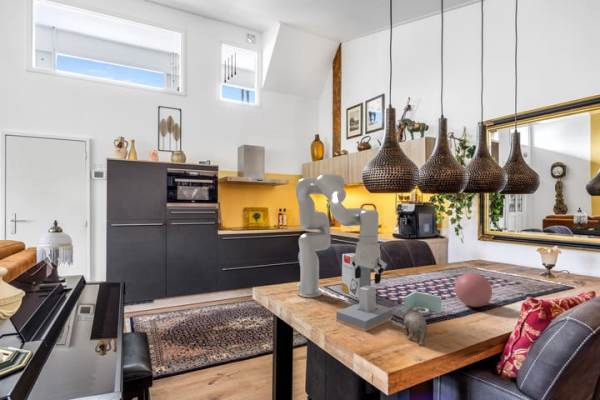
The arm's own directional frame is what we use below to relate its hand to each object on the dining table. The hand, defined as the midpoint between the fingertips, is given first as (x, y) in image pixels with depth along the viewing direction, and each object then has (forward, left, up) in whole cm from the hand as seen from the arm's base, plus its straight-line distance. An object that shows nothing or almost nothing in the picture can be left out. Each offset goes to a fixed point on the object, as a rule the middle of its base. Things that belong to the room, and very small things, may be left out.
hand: (367, 280), depth 138 cm
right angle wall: (+13, +24, -17) cm, 32 cm away
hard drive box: (-23, +24, -16) cm, 37 cm away
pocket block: (+1, -2, -16) cm, 16 cm away
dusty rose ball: (+24, +51, -16) cm, 58 cm away
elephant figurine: (+22, -1, -16) cm, 27 cm away
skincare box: (0, 0, -15) cm, 15 cm away
